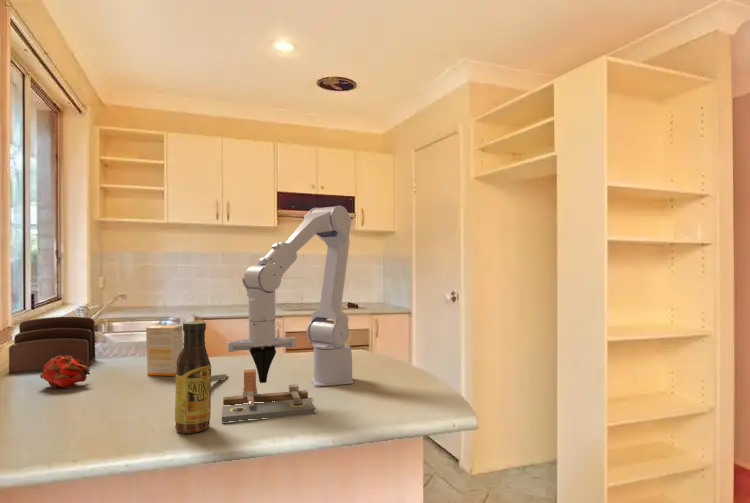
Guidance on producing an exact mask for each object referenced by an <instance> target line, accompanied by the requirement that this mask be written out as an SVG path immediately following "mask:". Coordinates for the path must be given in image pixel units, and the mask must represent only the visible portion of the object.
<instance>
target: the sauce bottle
mask: <svg viewBox="0 0 750 503" xmlns="http://www.w3.org/2000/svg"><path fill="white" fill-rule="evenodd" d="M206 329H207V322H206V321H186V322H183V323H182V332H183V350H182V351H181V352H180V354H179V356H178V359H177V372H176V375H175V397H174V398H175V399H174V400H175V403H174V404H175V405H174V406H175V407H174V422H175V425H174V426H175V431H176V432H178V433H181V434H194V433H199V432H203V431H205V430H206V429H207V428H209V427H210V420H211V410H212V408H211V405H212V404H211V400H212V382H211V375H212V364H211V361H210V358H209V355H208V353H207V352H208V351H207V348H206V341H205V338H206V337H205V336H206V335H205V334H206Z"/></svg>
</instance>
